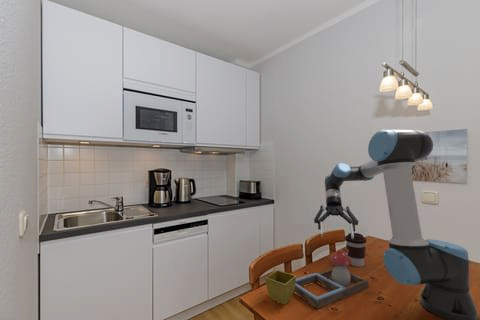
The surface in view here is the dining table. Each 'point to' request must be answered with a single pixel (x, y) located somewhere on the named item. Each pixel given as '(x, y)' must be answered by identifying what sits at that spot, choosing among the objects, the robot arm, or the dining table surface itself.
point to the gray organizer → (331, 288)
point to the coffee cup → (356, 249)
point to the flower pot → (280, 286)
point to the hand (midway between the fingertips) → (337, 236)
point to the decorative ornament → (341, 268)
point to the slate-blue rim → (323, 294)
